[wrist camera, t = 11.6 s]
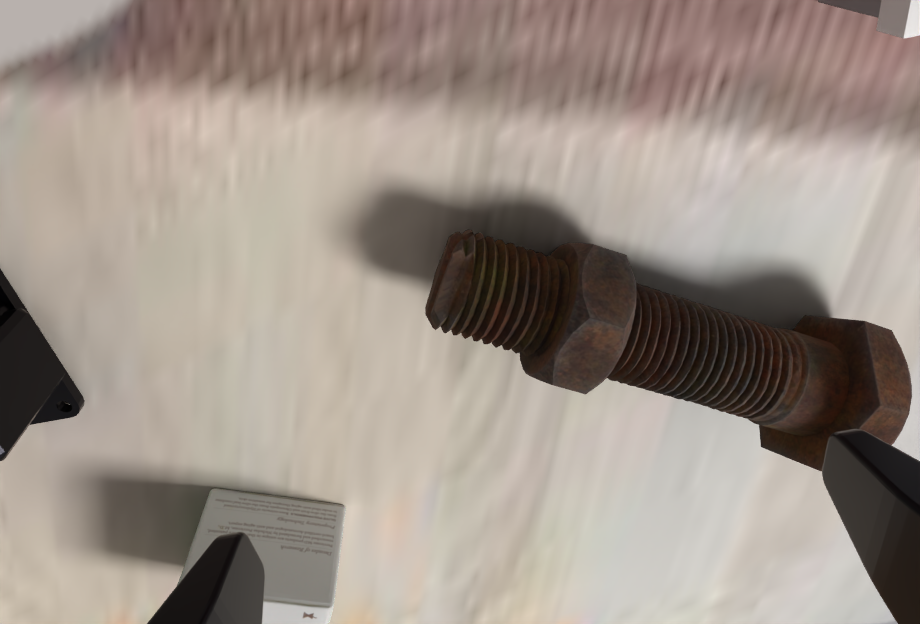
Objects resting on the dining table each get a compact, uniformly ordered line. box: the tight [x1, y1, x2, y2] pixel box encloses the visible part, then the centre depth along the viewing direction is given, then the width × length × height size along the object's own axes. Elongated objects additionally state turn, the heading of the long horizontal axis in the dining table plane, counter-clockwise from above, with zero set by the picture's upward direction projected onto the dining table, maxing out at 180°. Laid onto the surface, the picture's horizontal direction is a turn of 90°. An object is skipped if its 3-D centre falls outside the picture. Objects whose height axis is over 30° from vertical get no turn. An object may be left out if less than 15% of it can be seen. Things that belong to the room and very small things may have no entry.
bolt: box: [425, 230, 912, 471], centre depth 21 cm, size 6×5×15 cm
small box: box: [177, 488, 346, 624], centre depth 26 cm, size 6×6×5 cm
